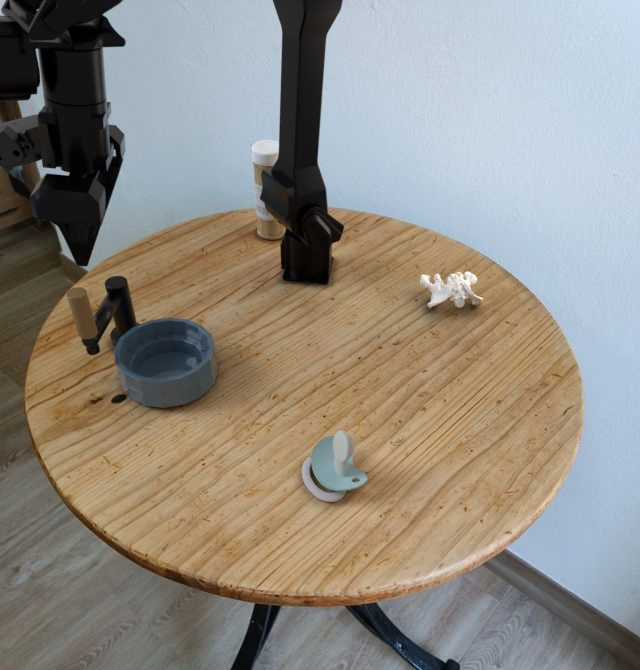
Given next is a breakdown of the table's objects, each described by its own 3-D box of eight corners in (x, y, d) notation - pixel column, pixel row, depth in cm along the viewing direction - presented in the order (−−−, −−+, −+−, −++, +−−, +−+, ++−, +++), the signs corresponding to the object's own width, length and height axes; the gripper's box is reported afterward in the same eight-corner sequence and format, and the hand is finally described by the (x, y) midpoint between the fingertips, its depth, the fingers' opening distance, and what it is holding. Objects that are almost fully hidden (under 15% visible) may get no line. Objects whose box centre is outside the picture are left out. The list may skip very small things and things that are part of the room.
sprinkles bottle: (292, 235, 104) (290, 148, 94) (266, 244, 102) (261, 156, 92) (276, 221, 107) (273, 135, 97) (251, 230, 105) (245, 143, 95)
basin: (226, 351, 85) (223, 322, 82) (204, 415, 78) (199, 386, 75) (139, 342, 86) (132, 313, 83) (108, 404, 79) (99, 375, 75)
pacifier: (319, 514, 69) (372, 495, 70) (317, 475, 64) (375, 455, 66) (291, 462, 73) (343, 445, 75) (288, 423, 69) (343, 405, 70)
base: (152, 331, 88) (150, 323, 87) (141, 353, 85) (139, 346, 84) (118, 327, 88) (117, 320, 87) (107, 349, 85) (104, 342, 84)
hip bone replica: (475, 260, 93) (492, 285, 88) (470, 287, 96) (486, 313, 91) (418, 264, 92) (432, 289, 87) (415, 291, 95) (428, 318, 90)
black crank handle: (121, 325, 87) (99, 237, 78) (141, 327, 86) (122, 239, 77) (88, 386, 79) (60, 297, 70) (110, 388, 79) (84, 299, 70)
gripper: (11, 57, 71) (33, 200, 82) (-46, 120, 58) (-11, 283, 68) (122, 70, 73) (129, 209, 83) (92, 135, 59) (105, 291, 70)
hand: (89, 244), depth 76 cm, fingers open, 9 cm apart
